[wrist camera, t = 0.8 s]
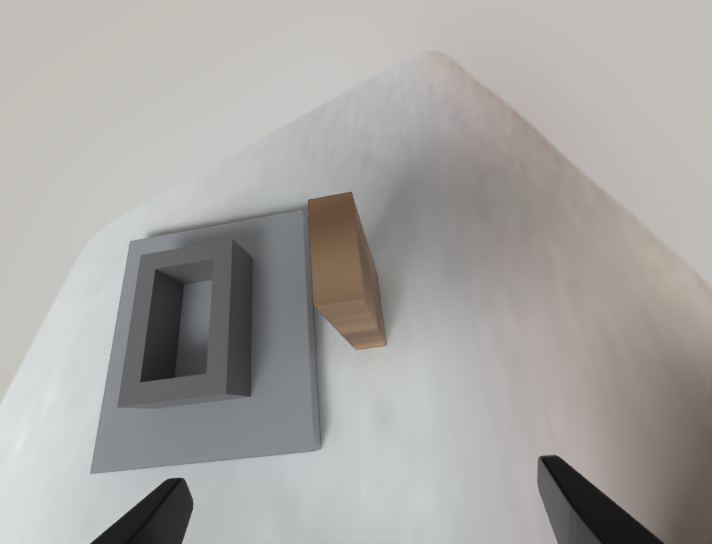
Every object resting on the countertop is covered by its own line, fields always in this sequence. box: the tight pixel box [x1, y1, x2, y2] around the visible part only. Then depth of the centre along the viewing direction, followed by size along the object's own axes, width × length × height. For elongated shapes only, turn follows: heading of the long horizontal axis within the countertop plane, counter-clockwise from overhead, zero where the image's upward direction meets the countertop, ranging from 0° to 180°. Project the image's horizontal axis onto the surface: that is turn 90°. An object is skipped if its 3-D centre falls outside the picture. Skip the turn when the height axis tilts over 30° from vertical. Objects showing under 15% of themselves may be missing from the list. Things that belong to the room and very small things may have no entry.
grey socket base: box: [90, 209, 321, 474], centre depth 23 cm, size 16×14×4 cm
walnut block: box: [308, 192, 386, 350], centre depth 19 cm, size 5×2×10 cm, turn 6°
